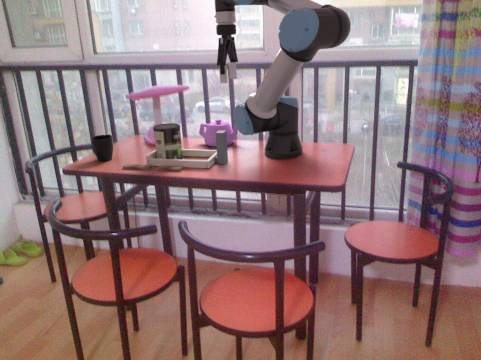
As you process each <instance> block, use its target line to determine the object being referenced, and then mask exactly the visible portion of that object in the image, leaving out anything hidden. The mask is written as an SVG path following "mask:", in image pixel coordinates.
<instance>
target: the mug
mask: <svg viewBox="0 0 481 360" xmlns="http://www.w3.org/2000/svg"><path fill="white" fill-rule="evenodd" d="M90 141H91V146H92V151H93V153H94V155H95V158H96V159H97V161H98V162H100V163H104V162H109V161H112V159H113V155H114V141H113V135H112V134H109V133H108V134H99V135H94V136H92V137H91V138H90Z"/></svg>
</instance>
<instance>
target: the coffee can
mask: <svg viewBox="0 0 481 360" xmlns="http://www.w3.org/2000/svg"><path fill="white" fill-rule="evenodd" d="M152 130H153V135H154V144H155V145H154V146H155V150H156V154H157V159H181V160H184V156H182V149H183V148H182V147H183V146H182V136H181V135H182V134H181V125H180V124H179V123H174V122H173V123H172V122H171V123H170V122H169V123H160V124H156V125H154V126H152Z"/></svg>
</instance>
